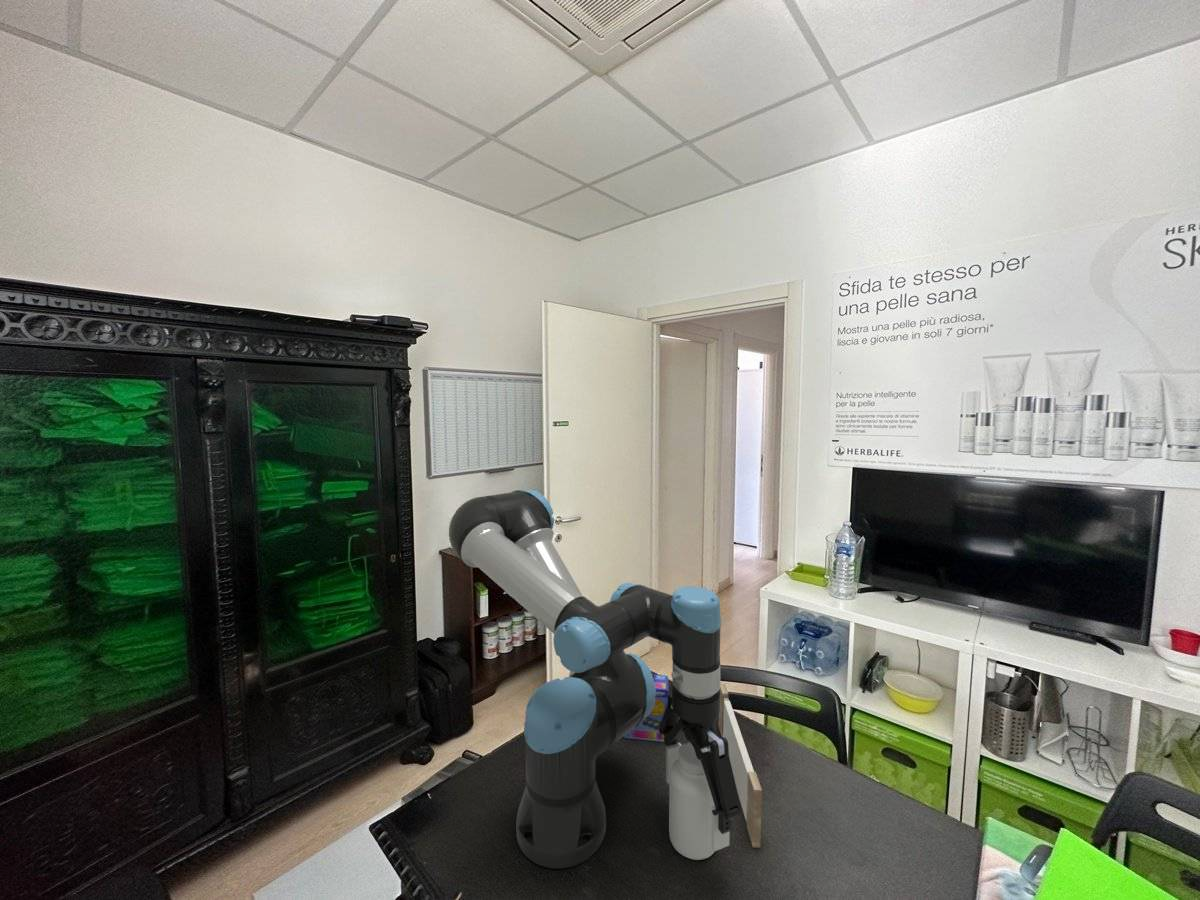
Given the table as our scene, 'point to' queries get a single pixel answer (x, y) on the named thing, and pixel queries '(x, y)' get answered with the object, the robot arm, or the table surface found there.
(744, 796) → the door
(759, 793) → the oak wall
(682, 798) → the pill bottle
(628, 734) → the ink cartridge box
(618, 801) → the table surface
